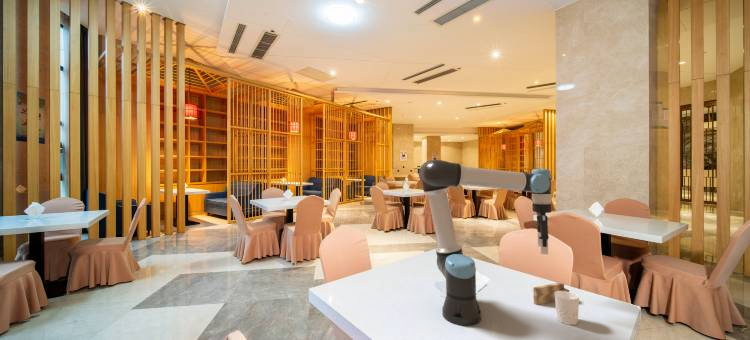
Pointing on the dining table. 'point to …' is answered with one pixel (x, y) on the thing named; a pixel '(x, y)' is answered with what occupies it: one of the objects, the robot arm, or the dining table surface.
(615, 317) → the dining table surface
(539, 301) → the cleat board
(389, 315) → the dining table surface
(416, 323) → the dining table surface
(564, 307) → the white cup
